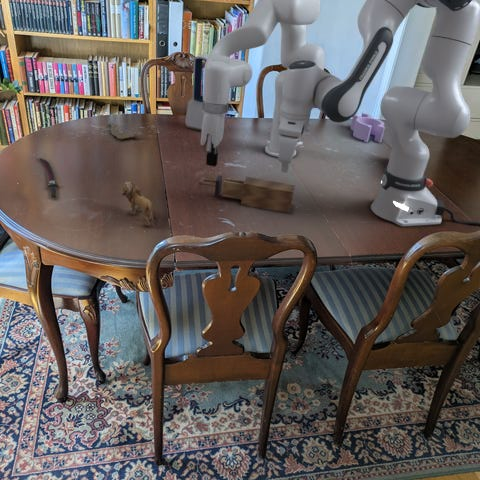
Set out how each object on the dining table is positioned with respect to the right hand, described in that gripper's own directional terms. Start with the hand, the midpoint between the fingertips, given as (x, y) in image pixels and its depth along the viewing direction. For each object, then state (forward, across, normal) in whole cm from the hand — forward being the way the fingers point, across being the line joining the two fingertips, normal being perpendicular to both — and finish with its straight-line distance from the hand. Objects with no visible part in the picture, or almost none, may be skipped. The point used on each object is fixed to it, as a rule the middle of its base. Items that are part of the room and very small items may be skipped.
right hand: (286, 165), depth 141 cm
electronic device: (+15, -58, -43) cm, 74 cm away
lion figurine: (+15, +21, -38) cm, 46 cm away
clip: (+14, -85, +27) cm, 90 cm away
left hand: (+4, 0, -23) cm, 24 cm away
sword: (+15, +9, -75) cm, 77 cm away
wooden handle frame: (+14, 0, -17) cm, 21 cm away
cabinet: (+15, 0, -4) cm, 15 cm away
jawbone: (+15, -40, -70) cm, 82 cm away
